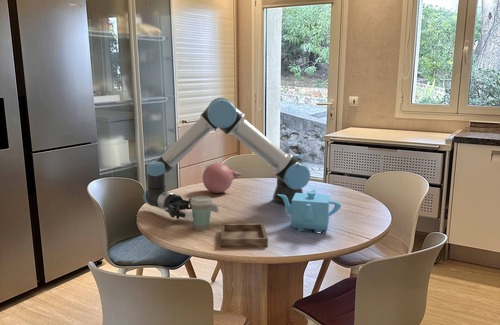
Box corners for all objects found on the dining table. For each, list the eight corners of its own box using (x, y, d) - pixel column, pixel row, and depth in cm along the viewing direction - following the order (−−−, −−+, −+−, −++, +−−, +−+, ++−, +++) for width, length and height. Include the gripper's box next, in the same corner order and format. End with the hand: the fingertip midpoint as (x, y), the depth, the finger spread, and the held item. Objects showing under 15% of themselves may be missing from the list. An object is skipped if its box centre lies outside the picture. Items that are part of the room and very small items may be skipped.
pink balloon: (242, 196, 219) (242, 166, 216) (201, 196, 218) (201, 166, 215) (240, 188, 234) (241, 160, 231) (203, 188, 233) (203, 160, 230)
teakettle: (343, 231, 171) (345, 194, 168) (305, 239, 161) (307, 201, 158) (311, 217, 187) (312, 184, 184) (275, 225, 177) (276, 190, 174)
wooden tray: (263, 230, 170) (263, 223, 169) (267, 246, 154) (267, 238, 153) (221, 231, 169) (221, 223, 168) (221, 247, 153) (221, 239, 152)
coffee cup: (216, 227, 173) (216, 198, 171) (200, 232, 167) (200, 202, 165) (202, 222, 179) (202, 194, 177) (186, 227, 173) (185, 198, 171)
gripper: (193, 204, 194) (227, 214, 180) (146, 217, 176) (180, 230, 162) (193, 188, 193) (227, 197, 179) (145, 199, 174) (179, 210, 161)
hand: (205, 212), depth 170 cm, fingers open, 13 cm apart
